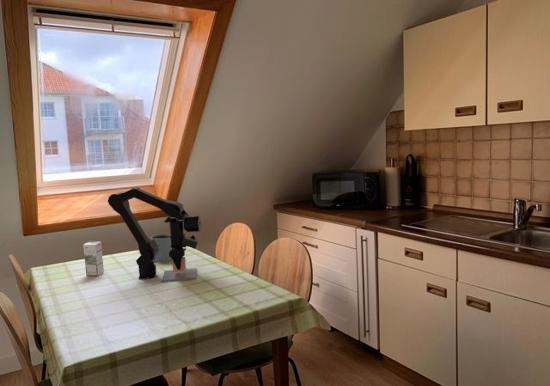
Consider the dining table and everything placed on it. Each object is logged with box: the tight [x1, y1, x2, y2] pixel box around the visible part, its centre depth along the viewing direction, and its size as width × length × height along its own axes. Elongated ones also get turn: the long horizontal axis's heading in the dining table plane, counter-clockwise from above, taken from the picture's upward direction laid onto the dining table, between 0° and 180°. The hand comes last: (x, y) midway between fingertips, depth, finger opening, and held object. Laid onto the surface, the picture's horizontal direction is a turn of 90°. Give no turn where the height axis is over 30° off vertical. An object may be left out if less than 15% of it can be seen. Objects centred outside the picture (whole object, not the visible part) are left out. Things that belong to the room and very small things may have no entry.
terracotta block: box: [171, 256, 187, 272], centre depth 192 cm, size 5×5×5 cm
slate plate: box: [161, 267, 198, 283], centre depth 192 cm, size 14×14×1 cm
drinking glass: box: [149, 233, 172, 263], centre depth 219 cm, size 10×10×12 cm
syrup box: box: [82, 241, 105, 277], centre depth 199 cm, size 6×6×14 cm
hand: (179, 267), depth 192 cm, fingers closed on terracotta block, 5 cm apart
